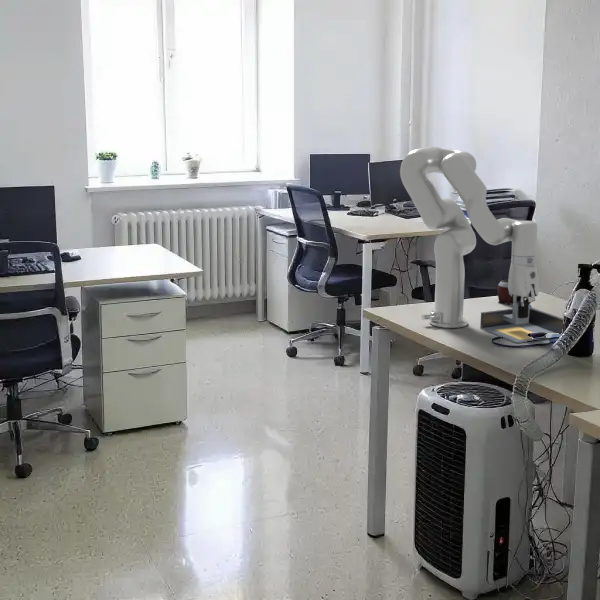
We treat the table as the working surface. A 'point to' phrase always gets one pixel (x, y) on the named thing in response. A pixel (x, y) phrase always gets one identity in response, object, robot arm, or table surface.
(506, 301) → the mate gourd
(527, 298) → the robot arm
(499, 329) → the tray
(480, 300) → the table surface
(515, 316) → the bracket
